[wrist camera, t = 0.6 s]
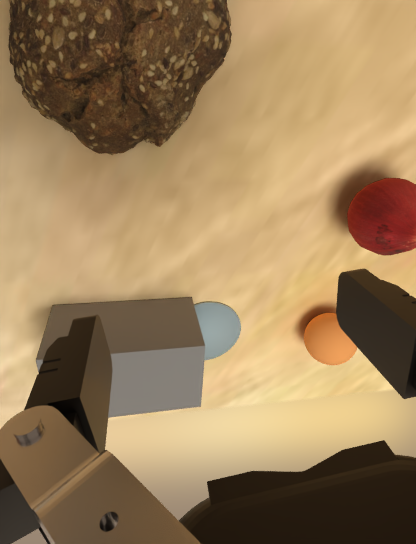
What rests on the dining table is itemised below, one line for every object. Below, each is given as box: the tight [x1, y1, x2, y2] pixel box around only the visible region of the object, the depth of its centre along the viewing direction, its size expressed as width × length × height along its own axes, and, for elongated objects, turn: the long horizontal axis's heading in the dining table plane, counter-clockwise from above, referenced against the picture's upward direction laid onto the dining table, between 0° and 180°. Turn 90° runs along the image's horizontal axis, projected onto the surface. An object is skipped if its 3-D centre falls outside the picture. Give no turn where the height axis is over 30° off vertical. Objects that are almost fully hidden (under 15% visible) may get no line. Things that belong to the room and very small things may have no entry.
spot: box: [194, 302, 241, 360], centre depth 35 cm, size 7×7×1 cm
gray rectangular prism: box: [36, 297, 205, 417], centre depth 30 cm, size 12×7×7 cm, turn 87°
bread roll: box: [9, 0, 232, 155], centre depth 20 cm, size 13×12×5 cm
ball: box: [304, 313, 357, 365], centre depth 35 cm, size 5×5×5 cm
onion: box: [347, 178, 416, 255], centre depth 28 cm, size 6×6×8 cm
